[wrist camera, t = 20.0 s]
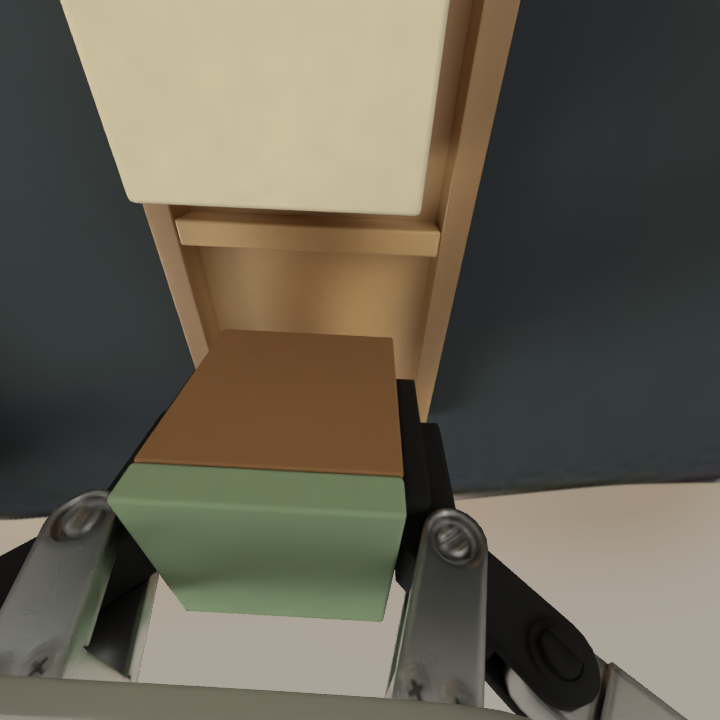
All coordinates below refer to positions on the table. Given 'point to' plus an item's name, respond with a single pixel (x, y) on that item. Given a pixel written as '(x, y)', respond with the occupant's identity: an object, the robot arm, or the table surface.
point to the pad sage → (275, 479)
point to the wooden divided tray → (352, 233)
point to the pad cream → (266, 99)
